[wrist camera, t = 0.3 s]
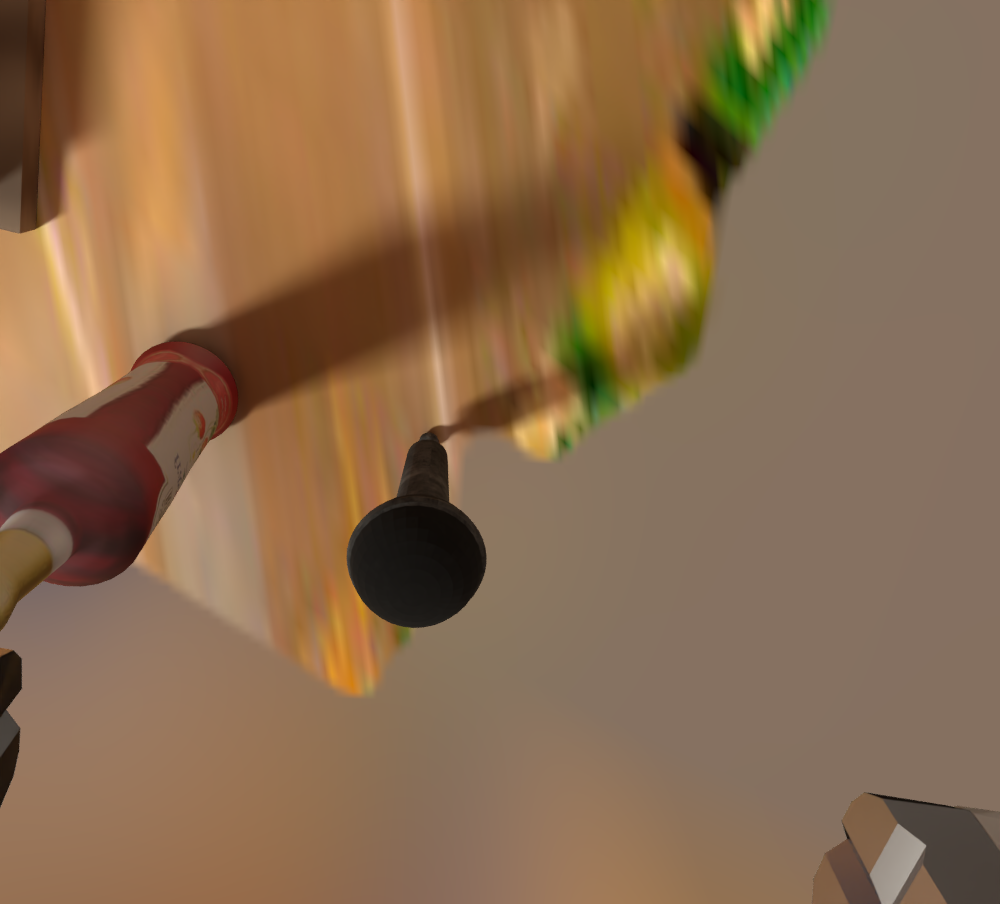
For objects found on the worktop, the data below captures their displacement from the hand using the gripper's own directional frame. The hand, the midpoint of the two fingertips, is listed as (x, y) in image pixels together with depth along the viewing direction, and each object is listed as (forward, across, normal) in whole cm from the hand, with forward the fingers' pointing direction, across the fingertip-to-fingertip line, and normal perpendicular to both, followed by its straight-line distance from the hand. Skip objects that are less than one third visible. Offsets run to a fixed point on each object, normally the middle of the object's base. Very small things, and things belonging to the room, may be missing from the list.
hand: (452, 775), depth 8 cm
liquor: (+47, +15, +15) cm, 51 cm away
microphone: (+47, -1, +15) cm, 49 cm away
